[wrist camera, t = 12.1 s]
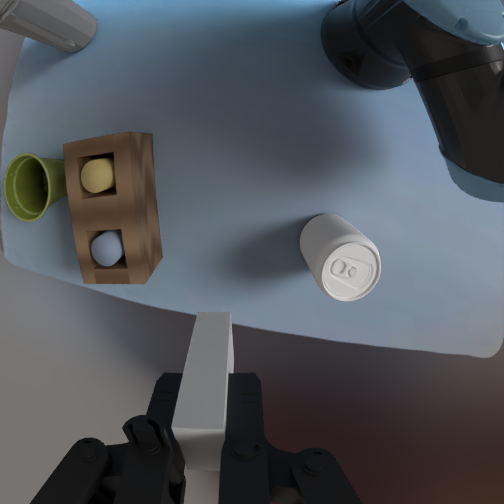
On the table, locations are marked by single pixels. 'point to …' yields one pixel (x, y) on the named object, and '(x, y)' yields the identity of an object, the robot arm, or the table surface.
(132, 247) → the walnut block
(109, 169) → the ochre peg
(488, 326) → the table surface
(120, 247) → the blue peg
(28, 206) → the plant pot
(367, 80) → the robot arm
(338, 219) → the beverage can
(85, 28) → the water bottle
